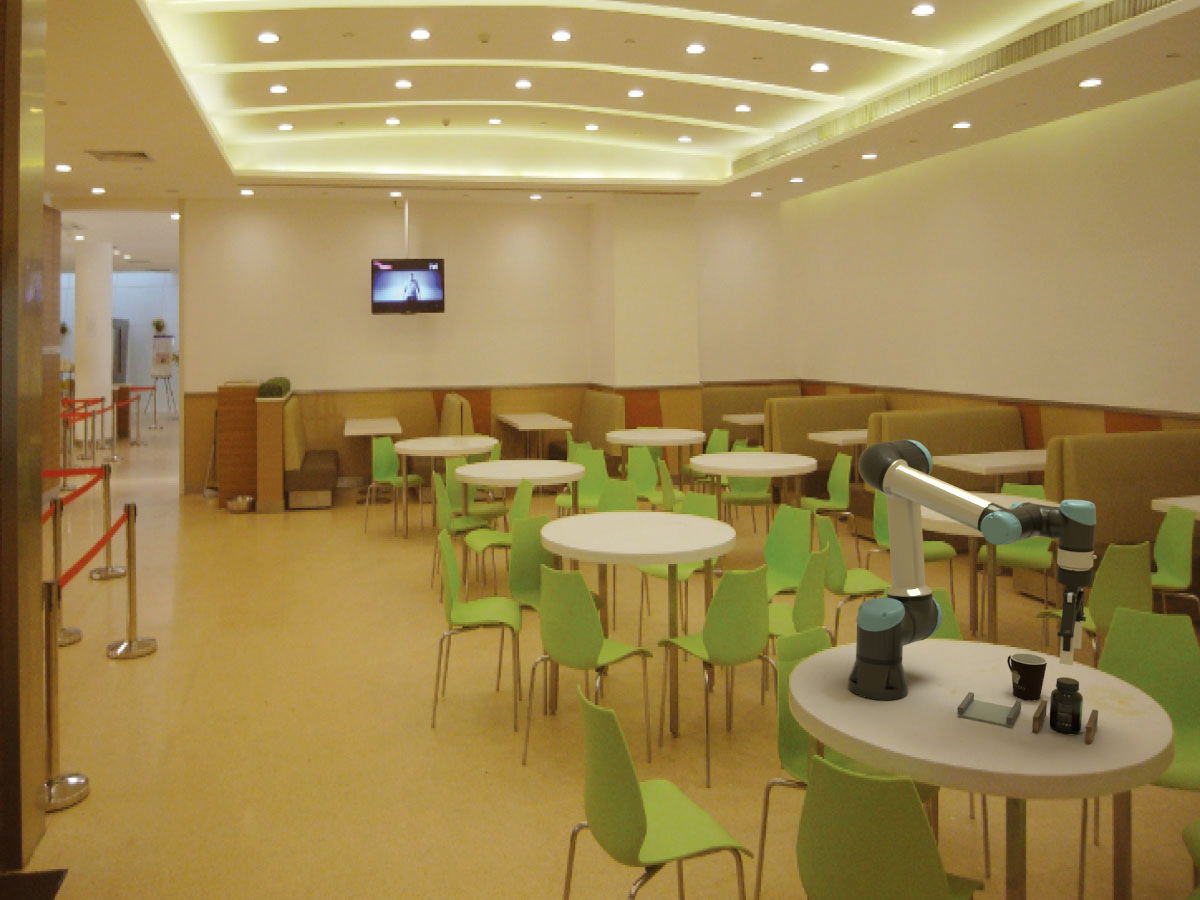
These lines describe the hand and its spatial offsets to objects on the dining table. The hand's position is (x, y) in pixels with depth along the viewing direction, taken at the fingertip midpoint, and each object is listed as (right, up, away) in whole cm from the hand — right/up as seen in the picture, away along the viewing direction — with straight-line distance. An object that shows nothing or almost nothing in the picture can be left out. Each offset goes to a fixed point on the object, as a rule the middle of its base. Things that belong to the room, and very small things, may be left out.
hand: (1070, 655), depth 230 cm
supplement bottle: (0, -18, +3) cm, 18 cm away
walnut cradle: (0, -18, +3) cm, 18 cm away
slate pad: (-14, -17, +12) cm, 25 cm away
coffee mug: (0, -15, +25) cm, 29 cm away
